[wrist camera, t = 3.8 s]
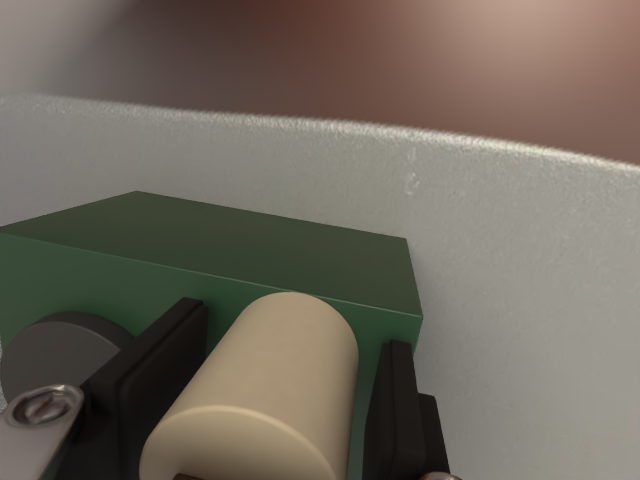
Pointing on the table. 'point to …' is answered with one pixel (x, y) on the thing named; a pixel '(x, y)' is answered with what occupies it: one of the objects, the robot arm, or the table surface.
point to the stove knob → (264, 400)
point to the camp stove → (186, 284)
